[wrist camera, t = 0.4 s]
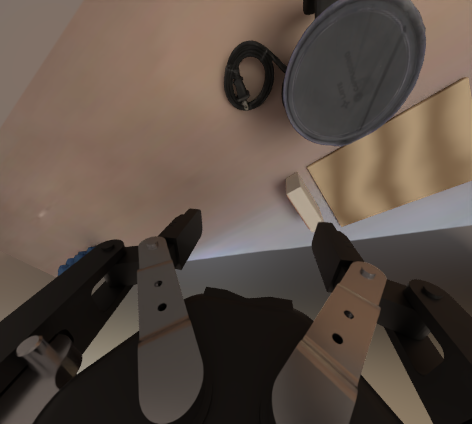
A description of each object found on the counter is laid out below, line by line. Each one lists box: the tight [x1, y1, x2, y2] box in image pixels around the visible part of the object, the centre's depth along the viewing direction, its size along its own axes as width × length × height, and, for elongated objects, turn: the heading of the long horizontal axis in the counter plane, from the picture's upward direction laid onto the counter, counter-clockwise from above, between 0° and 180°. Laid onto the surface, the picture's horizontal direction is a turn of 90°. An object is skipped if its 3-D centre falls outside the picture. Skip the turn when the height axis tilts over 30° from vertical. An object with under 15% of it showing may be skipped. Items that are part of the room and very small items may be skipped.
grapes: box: [58, 247, 95, 276], centre depth 57 cm, size 12×7×12 cm, turn 109°
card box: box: [286, 172, 324, 232], centre depth 31 cm, size 3×9×6 cm, turn 38°
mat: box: [307, 77, 472, 227], centre depth 28 cm, size 20×15×1 cm
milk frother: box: [224, 0, 426, 146], centre depth 19 cm, size 14×16×15 cm
